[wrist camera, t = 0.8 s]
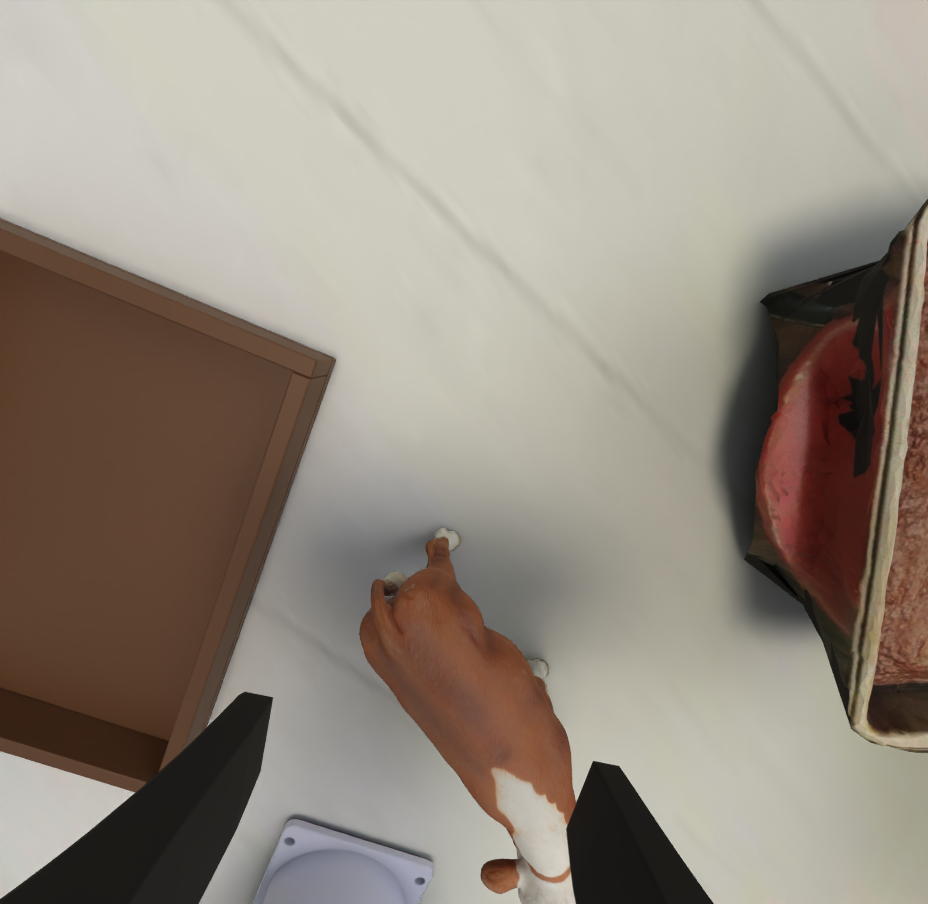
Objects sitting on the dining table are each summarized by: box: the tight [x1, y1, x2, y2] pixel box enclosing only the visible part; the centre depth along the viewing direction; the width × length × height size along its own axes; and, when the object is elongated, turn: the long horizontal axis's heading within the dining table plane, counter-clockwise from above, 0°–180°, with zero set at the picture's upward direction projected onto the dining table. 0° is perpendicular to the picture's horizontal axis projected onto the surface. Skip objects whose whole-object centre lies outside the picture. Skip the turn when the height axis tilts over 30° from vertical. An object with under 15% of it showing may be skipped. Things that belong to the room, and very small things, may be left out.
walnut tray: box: [0, 219, 336, 792], centre depth 18 cm, size 20×13×2 cm, turn 157°
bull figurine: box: [359, 528, 576, 904], centre depth 17 cm, size 4×13×8 cm, turn 28°
